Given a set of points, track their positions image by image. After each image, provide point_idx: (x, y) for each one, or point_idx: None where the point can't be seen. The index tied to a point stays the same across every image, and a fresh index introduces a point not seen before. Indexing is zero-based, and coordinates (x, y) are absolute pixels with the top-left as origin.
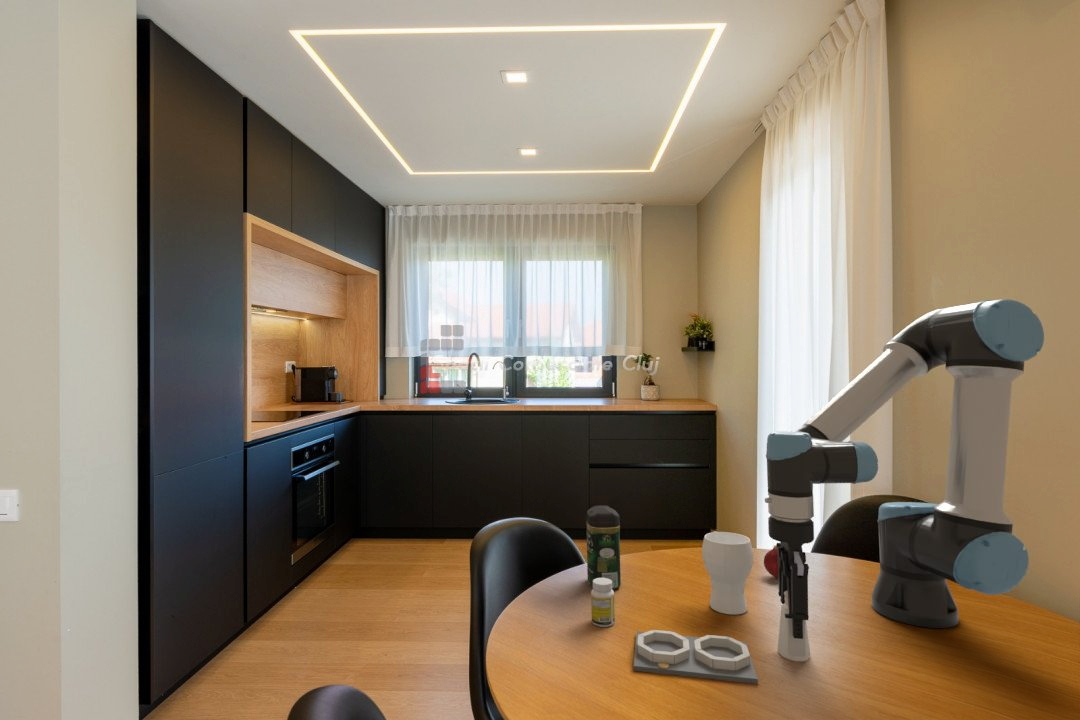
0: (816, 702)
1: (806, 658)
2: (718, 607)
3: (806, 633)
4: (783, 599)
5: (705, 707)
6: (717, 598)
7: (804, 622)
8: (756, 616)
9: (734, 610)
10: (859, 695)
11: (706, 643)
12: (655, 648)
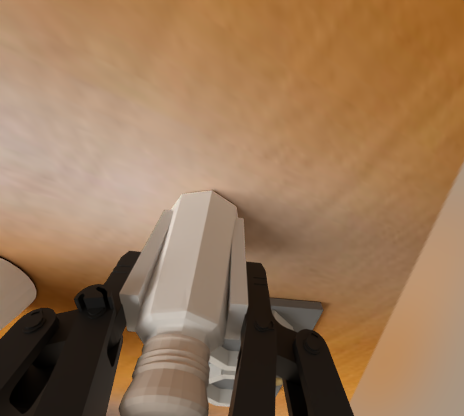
0: (395, 242)
1: (235, 209)
2: (25, 308)
3: (211, 237)
4: (119, 354)
5: (363, 354)
6: (4, 326)
7: (247, 292)
8: (7, 239)
9: (21, 286)
10: (401, 147)
11: (217, 351)
12: (229, 382)
